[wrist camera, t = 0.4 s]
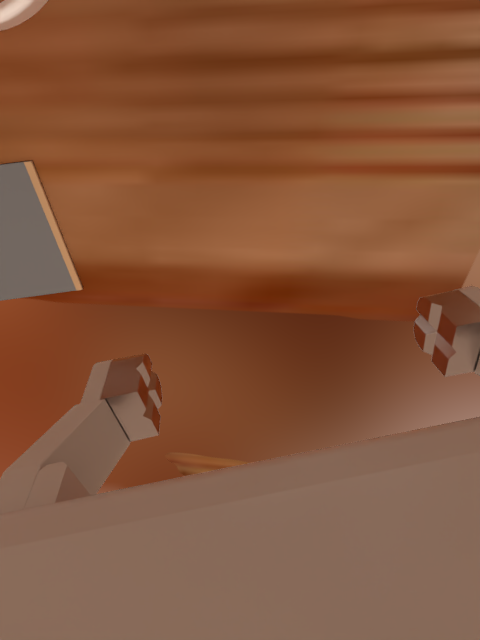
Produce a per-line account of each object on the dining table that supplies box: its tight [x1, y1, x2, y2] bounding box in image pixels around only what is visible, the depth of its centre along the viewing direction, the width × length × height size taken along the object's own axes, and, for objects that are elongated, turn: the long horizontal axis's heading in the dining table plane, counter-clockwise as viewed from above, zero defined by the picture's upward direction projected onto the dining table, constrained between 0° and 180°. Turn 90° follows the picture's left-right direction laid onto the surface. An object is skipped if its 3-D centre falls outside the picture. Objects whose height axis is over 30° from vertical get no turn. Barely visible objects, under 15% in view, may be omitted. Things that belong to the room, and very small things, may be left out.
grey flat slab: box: [0, 161, 83, 300], centre depth 53 cm, size 20×16×1 cm
